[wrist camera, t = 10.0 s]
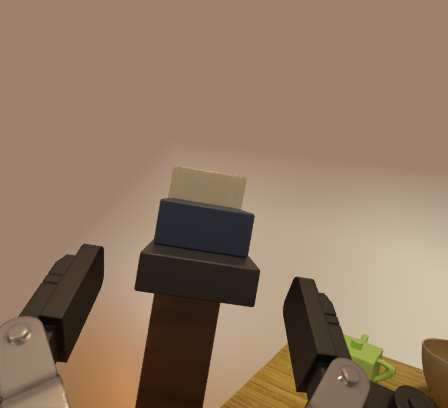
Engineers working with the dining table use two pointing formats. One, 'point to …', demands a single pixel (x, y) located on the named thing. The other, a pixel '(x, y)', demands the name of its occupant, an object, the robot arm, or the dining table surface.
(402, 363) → the dining table surface
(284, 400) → the dining table surface
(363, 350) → the teapot
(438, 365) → the brown bowl
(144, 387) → the dark brown wooden post
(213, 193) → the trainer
